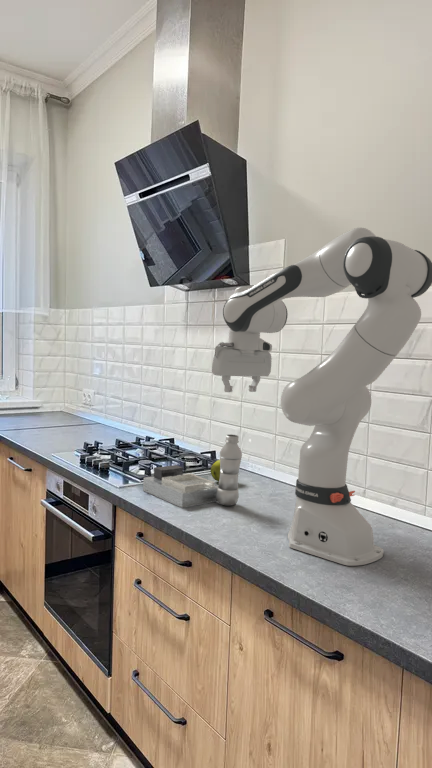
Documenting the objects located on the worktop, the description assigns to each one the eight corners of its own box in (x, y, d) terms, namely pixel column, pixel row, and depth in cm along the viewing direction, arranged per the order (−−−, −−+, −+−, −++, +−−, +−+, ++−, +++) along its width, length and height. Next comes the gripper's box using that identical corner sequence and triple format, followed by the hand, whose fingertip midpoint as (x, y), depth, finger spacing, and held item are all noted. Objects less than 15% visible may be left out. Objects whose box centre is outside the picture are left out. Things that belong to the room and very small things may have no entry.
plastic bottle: (211, 505, 150) (217, 435, 149) (220, 499, 157) (225, 432, 155) (233, 509, 148) (239, 439, 146) (241, 503, 155) (246, 435, 153)
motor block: (220, 500, 156) (221, 477, 156) (181, 507, 147) (183, 482, 147) (174, 482, 174) (175, 461, 173) (137, 488, 165) (138, 465, 164)
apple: (241, 483, 177) (242, 460, 177) (219, 486, 172) (220, 462, 172) (227, 478, 184) (229, 455, 183) (205, 480, 179) (207, 457, 178)
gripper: (223, 342, 143) (220, 393, 144) (276, 345, 156) (272, 392, 157) (208, 341, 147) (205, 390, 149) (261, 344, 161) (257, 390, 162)
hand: (240, 391), depth 153 cm, fingers open, 8 cm apart
